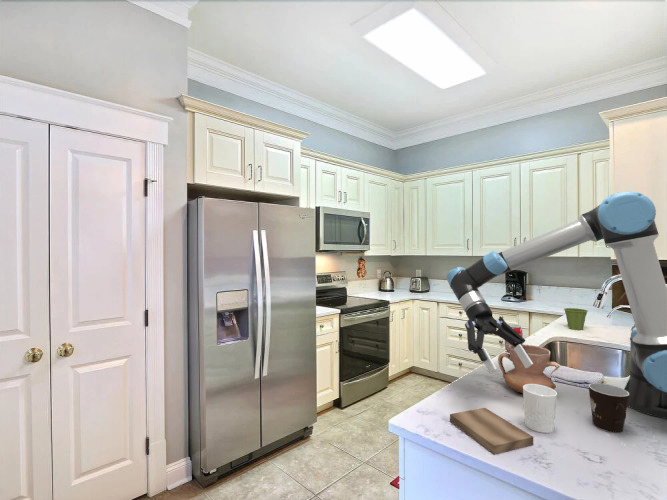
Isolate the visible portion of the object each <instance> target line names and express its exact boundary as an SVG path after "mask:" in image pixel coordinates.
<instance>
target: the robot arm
mask: <svg viewBox="0 0 667 500" xmlns="http://www.w3.org/2000/svg"><path fill="white" fill-rule="evenodd" d="M656 209H657V208H656V207H655V204H654V202H653V201H652V200H651V199H650V198H649V197H648V196H646V195H645V194H643V193H640V192H638V191H628V190H627V191H621V192H617V193H613V194H611V195H608V197H606V198H605V199H603V200H602V202H601V203H600V204H599V205H597V206H596V207H594V208H593V209H591V210H589V211H587V212H584V213H582V214H580V215H579V217H578V218H577V219H575V220H574V221H571V222H569V223H567V224H564V225H562V226H558V227H557V228H555V229H552V230H550V231H547V232H544V233H542V234H541V235H538V236H535V237H533V238H532V239H529V240H526V241H524V242H521V243H519V244H517V245H514V246H512V247H510V248H507V249H505V250H502V251H499V252H497V251H494V250H492V251H490V252H489V253H487V254H485V255H484V256H483V257H481V258H479V259H478V260H477V261H475V262H474V263H473V264H471V265H470V266H468V267H467V268H465V267H463V266H457V267H456V268H451V270H449V272H447V274H446V280H447V282H448V284H449V287H450V289H451V290H452V292H453V294H454V295H455V297H456V300H458V302H459V304H460V306H461V308H462V309H463V311H464V313H465V315H466V317H467V318H468V320H467V321H466V323H464V327H465V329H466V335H467V336H466V337H467V348H468V350H469V351H470V352H473V354H476V355H477V356H478V357H479V360H480V361H481V362H482V363H483V364H484V365H485V367H486V370H487V372H488V373H489V374H493V373H494V372H495V371H496V370H497V366H496V365H495V363H494V361H493V360H492V357H491V356H490V354H489V352H488V351H487V349H486V348H485V347H484V348H483V345H484V339H485V335H486V336H487V335H495V336H498V337H499V338H501V339H503V340H504V342H505V341H507V342H508V343H510V344H511V345H513V346H514V347H515V348H514V350H515V352H516V353H517V355H518V357H519V358H520V360H521V361H522V363H523V365H524V366H525V368H528V367H530V366H531V365H532V364H533V363H532V361H531V359H530V358H529V356H528V355H527V351H526V350H525V348H524V347H523V345H524V343H525V342H526V339H525V338H524V337H522V336H520V335H519V334H518V333H517V332H516V331H515V330H514V329H512V328H511V327H510V326H509V325H508V324H509V323H507V322H506V321H505V319H504V318H503V317H498V319H496V318H494V316H493V310H491V307H490V306H489V304H488V303H487V302H486V299H485V298H484V296H483V294H482V293H481V292H480V291H479V288H481V287H482V286H484V285H486V284H487V283H488V282H490V281H491V280H493V279H495V278H496V277H500V276H502V275H504V274H506V273H509V272H511V271H513V270H514V271H515V270H516V269H518V268H522V267H524V266H527V265H529V264H532V263H534V262H537V261H540V260H543V259H545V258H548V257H550V256H553V255H555V254H558V253H560V252H563V251H566V250H569V249H571V248H575V247H576V246H579V245H581V244H584V243H587V242H589V241H591V242H599V241H601V240H603V242H604V244H605V246H607V247H609V248H610V249H612V250H613V252H614V255H615V259H616V263H617V266H618V267H617V268H618V270H619V273H620V276H621V281H622V284H623V288H624V290H625V294H626V298H627V302H628V304H629V305H628V306H629V307H630V312H631V315H632V317H633V318H632V319H633V321H634V325H635V329H632V331H631V332H630V337H629V341H630V344H629V345H630V346H629V347H630V348H629V350H630V351H629V378H628V380H627V382H626V384H625V386H624V388H623V389H624V390H626V391H627V392H629V399H628V404H627V407H629V408H631V409H633V410H635V411H638V412H640V413H643V414H646V415H649V416H653V417H657V418H661V419H667V284H666V280H665V277H664V274H663V271H662V267H661V264H660V261H659V257H658V254H657V251H656V247H655V244H654V242H655V241H656V239H657V238H658V237H659V236H660V235H659V231H658V227H657V224H656V221H655V219H656V216H657V215H656V214H657V213H656V212H657V210H656ZM476 330H477V331H476ZM515 342H516V343H515ZM522 344H523V345H522Z"/></svg>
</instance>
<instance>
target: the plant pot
mask: <svg viewBox="0 0 667 500" xmlns="http://www.w3.org/2000/svg"><path fill="white" fill-rule="evenodd" d="M563 310H564V313H565V316H566V323H567V327H568V329H572V330H574V329H575V330H574V331H576V330H577V331H580V330H584V328H585V322H586V317H587V314H588V312H589V310H588V309H584V308H576V307H575V308H571V307H565V308H563Z"/></svg>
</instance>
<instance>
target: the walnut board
mask: <svg viewBox="0 0 667 500" xmlns="http://www.w3.org/2000/svg"><path fill="white" fill-rule="evenodd" d="M449 422H450V423H452V424H453V425H454V426H455V427H457V428H458V429H459V430H461V431H463V433H465V434H466V435H468V436H469V437H470V438H471V439H473V440H474V441H476V442H477V443H479V444H480V445H481V446H482V447H483V448H485V449H486V450H488V451H489V452H490V453H492V454H493V455H496V454H497V455H498V454H502V453H506V452H510V451H514V450H518V449H523V448H527V447H531V446H533V445H534V436H533V435H531V434H530V433H528V432H526V431H525V430H523V429H522V428H519V427H518V426H517V425H514V424H513V423H511V422H510V421H508V420H507V419H505V418H503V417H501V416H500V415H498V414H497V413H494V412H493V411H491V410H490V409H488V408H487V407H480V408H475V409H470V410H465V411H459V412H455V413H449Z"/></svg>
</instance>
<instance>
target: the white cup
mask: <svg viewBox="0 0 667 500" xmlns="http://www.w3.org/2000/svg"><path fill="white" fill-rule="evenodd" d="M557 397H558V392H557V390H555V389H554V390H553V389H552V388H549V387H546V386H543V385H538V384H526V385H524V386H523V393H522V398H523V399H522V400H523V401H522V402H523V403H522V404H523V413H524V424H525V426H526V427H527V428H528V429H530V430H532V431H534V432H538V433H542V434H551V433H553V432H554V430H555V420H556V415H557V414H556V413H557V403H558V402H557V399H558V398H557Z"/></svg>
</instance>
